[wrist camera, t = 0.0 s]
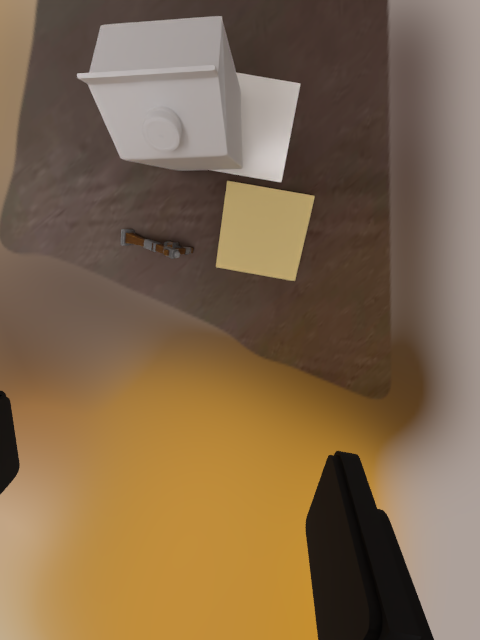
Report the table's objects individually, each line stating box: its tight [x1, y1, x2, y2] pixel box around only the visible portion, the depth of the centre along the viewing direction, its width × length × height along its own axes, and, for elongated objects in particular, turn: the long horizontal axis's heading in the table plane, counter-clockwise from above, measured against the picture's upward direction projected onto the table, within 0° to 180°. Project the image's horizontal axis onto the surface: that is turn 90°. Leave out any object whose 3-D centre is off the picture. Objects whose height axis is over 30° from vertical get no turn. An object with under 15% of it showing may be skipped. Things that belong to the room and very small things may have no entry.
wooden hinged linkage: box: [121, 229, 193, 259], centre depth 37 cm, size 2×8×4 cm, turn 79°
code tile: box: [212, 73, 300, 182], centre depth 33 cm, size 9×12×1 cm
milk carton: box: [77, 16, 243, 171], centre depth 25 cm, size 7×7×19 cm
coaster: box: [216, 181, 315, 281], centre depth 37 cm, size 10×10×1 cm
